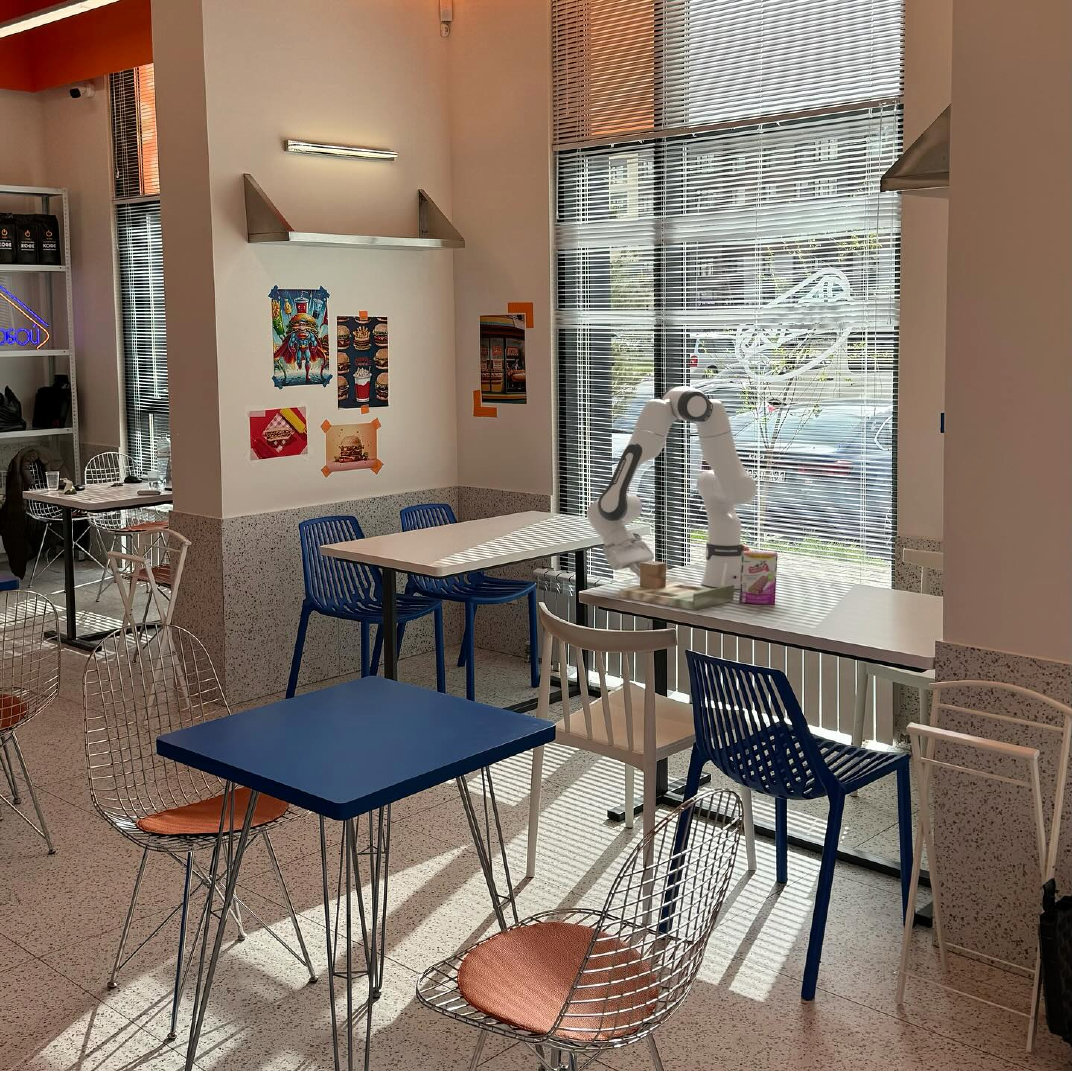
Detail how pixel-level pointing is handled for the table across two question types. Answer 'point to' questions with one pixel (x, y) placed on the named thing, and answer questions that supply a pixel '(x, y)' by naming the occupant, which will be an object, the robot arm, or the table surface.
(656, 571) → the walnut block
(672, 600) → the trap deck
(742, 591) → the candy bar box
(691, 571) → the table surface
